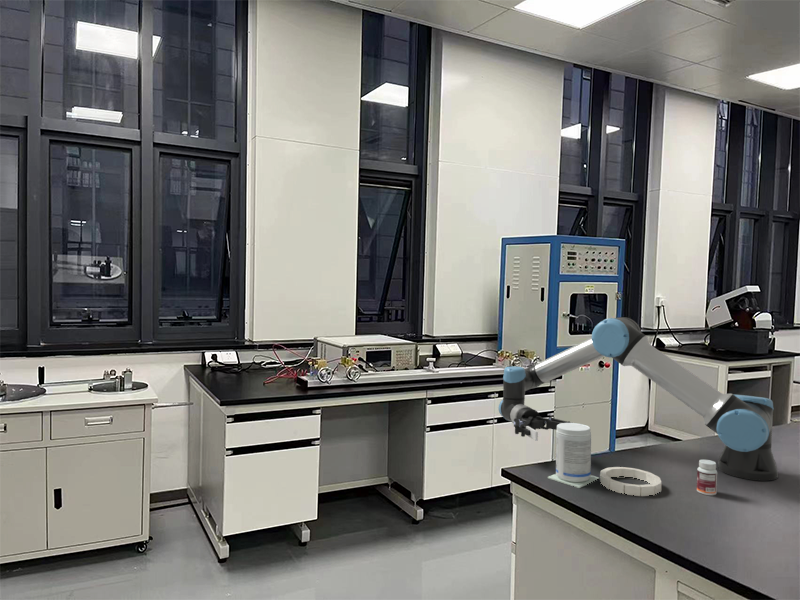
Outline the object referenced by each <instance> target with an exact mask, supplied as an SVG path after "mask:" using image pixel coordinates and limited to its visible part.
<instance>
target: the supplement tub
mask: <svg viewBox="0 0 800 600" xmlns="http://www.w3.org/2000/svg"><path fill="white" fill-rule="evenodd" d="M591 433H592V431H591V427H590V426H589V425H586V424H582V423H577V422H571V423H560V424H558V425H557V430H556V431H555V474H556V475H557V476H558V477H559V478H561V479H563V480H566V481H570V482H584V481H587V480H589V479H590V477H591V475H592V474H591V473H592V472H591V471H592V470H591V469H592V466H591V465H592V434H591Z"/></svg>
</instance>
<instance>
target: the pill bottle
mask: <svg viewBox="0 0 800 600" xmlns="http://www.w3.org/2000/svg"><path fill="white" fill-rule="evenodd" d="M716 468H717V463H716V461H714V460H710V459H699V461H698V467H697V469H696V472H697V475H696V477H697V478H696V492H697V493H699V494H702V495H704V496H716V495H717V491H718V470H717V469H716Z"/></svg>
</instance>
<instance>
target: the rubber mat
mask: <svg viewBox="0 0 800 600" xmlns="http://www.w3.org/2000/svg"><path fill="white" fill-rule="evenodd" d="M548 479H549V480H551V481H555V482H558V483H562V484H565V485H566V486H567V485H568V486H571V487H573V486H574V487H573V488H577V489H581V488H584V487H585V486H588V485H589V483H590V484H592V483H594V482H596V481H598V480H597V479H599V480H600V476H599V477H598V476H595V475H592V474H591V477H590V479H589V480H587V481H584V482H570V481H566V480H563V479H561V478H559V477H558V476H557V475H556V473H554V474H552V475H548V476H547V480H548ZM595 480H596V481H595ZM593 481H594V482H593ZM591 482H592V483H591ZM587 484H588V485H587Z"/></svg>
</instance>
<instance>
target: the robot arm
mask: <svg viewBox="0 0 800 600" xmlns="http://www.w3.org/2000/svg"><path fill="white" fill-rule="evenodd" d="M649 342H650V341H649V338H648V336H647V335H646V334H644V333H643V332H642V331H641V328H640V326H639V324H638V323H637V322H636V321H635V320H633V319H632V318H629V317H626V316H625V317H624V316H619V317H611V318H610V317H609V318H605V319H603V320H601V321H600V322H599V323H597V324H596V325H595V326H594V328H593V330H592V332H591V337H589V338H587V339H586V340H583V341H582V342H579V343H577V344H574V345H573V346H571V347H569V348H567V349H565V350H563V351H561V352H559V353H556V354H554V355H552V356H550V357H548V358H546V359H544V360H542V361H540V362H538V363H536V364H533V365H531V366H528V367H527V368H524V367H523V366H517V365H516V366H515V365H514V366H513V365H512V366H507V367H504V370H503V377H502V380H503V383H502V384H503V388H502V393H503V394H502V397H503V398H502V400H501V401H500V402H499V404H498V412H499V414H500V416H501V417H503V419H505V420H506V421H508V422H511V423H512V424H513V427H514V434H515V435H519V434H520V437H523V438H524V437H526V436H527V437H529V438H530V439H531V440H534V441H538V440H539V436H538V435H539V431H538V430H546V431H549V430H557V425H558V424H560V423H572V422H571V421H567V420H562V419H558V418H554V417H552V416H549V417H547V418H546V417H542V416H541V415H540V412H538V411H537V410H536V409H533V408H532V407H530V406H528V405H525V397H526V391H529V390H531V389H536V388H538V387H540V386H541V385H544V384H545V383H547V382H550V381H551V380H554V379H556V378H559V377H561V376H563V375H565V374H567V373H570V372H573V371H575V370H577V369H579V368H581V367H583V366H586V365H588V364H590V363H592V362H595V361H598V360H599V359H601V358H604V357H606V358H611V359H613V360H614V361H616V362H617V363H618V364H620V365H621V366H622V367H630V366H631V367H633V368H634V369H635V370H636V371H638V372H639V373H641V374H642V375H644V376H645V377H646V378H648V379H649V380H651V381H652V382H653V383H655V384H656V385H658V386H659V387H660V388H661V389H663V390H665V391H666V392H667V393H669V394H670V395H672V396H673V397H675V398H676V399H677V400H678V401H679V402H681V403H683V404H684V405H686V406H687V407H689V408H690V409H691V410H693V412H695V413H697V414H699V416H701V417H702V418H703V422H704V425H705V427H707V428H708V429H710V430H711V431H713V432H714V433H716V434H717V435H718V438H719V439H720V441H721V442H722V443H723V444H724V446H723V449H722V451H721V454H720V456H719V459H718V462H717V463H718V464H717V466H718V469H719V470H720V471H721V472H722V473H725V474H727V475H729V476H732V477H736V478H741V479H745V480H751V481H761V482H762V481H765V482H766V481H767V482H768V481H774V480H777V479H778V473H779V472H778V470H779V469H778V466H777V464H776V463H777V462H776V459H775V456H774V454H773V452H772V450H773V449H772V441H773V416H774V415H773V414H774V411H775V408H774V402H773V400H772V399H771V398H767V397H761V396H753V395H746V394H745V395H744V394H733V393H722V392H721V391H720V390H718V389H716V388H714V387H713V386H711V385H710V384H708V383H707V382H706V381H704V380H703V379H701V377H699V376H697V375H695V374H694V373H693V372H691V371H690V370H688V369H686V368H685V367H684V366H682V365H681V364H680V363H678V362H677V361H676V360H674V359H672V358H671V357H669V356H668V355H666V354H665V353H663V352H662V351H660V350H659V349H657V348H656V347H655V346H653V345H652V344H650V343H649Z"/></svg>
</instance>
